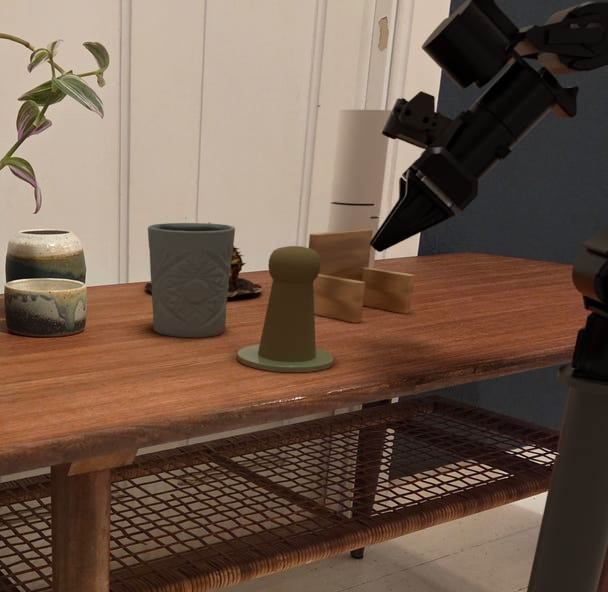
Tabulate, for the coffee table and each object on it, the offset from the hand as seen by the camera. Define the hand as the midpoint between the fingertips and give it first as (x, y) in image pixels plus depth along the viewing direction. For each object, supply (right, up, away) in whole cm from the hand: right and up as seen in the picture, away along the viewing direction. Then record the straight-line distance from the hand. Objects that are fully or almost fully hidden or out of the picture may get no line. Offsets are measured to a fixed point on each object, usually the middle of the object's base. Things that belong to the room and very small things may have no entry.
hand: (373, 247), depth 91 cm
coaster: (-9, -11, +2) cm, 14 cm away
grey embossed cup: (-18, -6, +15) cm, 25 cm away
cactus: (-14, +4, +39) cm, 42 cm away
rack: (+5, -2, +26) cm, 27 cm away
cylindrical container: (+7, +4, +42) cm, 43 cm away
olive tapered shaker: (-9, -11, +2) cm, 14 cm away
